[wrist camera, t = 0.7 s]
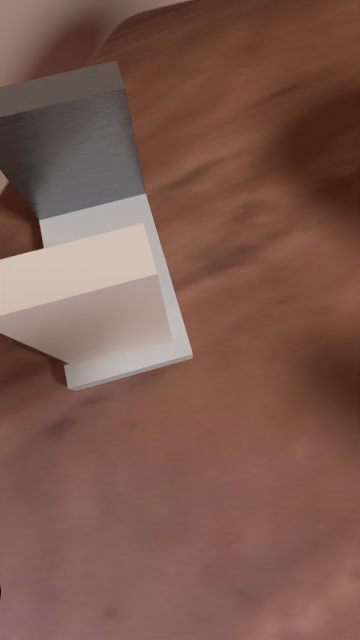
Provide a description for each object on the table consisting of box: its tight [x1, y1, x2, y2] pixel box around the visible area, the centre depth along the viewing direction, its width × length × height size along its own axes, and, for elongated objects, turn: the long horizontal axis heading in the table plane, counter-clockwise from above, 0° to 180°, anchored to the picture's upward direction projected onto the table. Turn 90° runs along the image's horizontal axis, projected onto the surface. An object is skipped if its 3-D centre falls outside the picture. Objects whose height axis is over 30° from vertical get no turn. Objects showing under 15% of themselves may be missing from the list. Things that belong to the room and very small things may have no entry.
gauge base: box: [39, 194, 193, 391], centre depth 23 cm, size 14×8×2 cm, turn 16°
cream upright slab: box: [0, 223, 173, 368], centre depth 16 cm, size 4×7×10 cm, turn 105°
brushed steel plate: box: [0, 61, 146, 220], centre depth 20 cm, size 2×8×8 cm, turn 105°
